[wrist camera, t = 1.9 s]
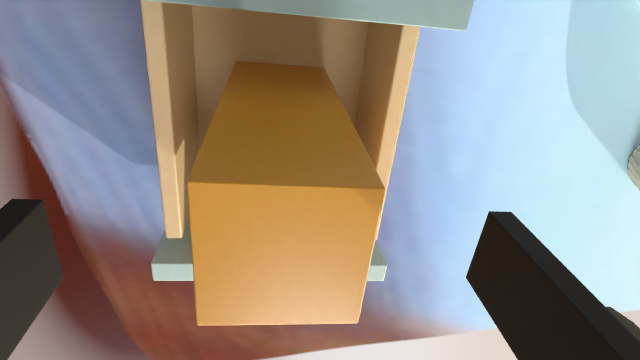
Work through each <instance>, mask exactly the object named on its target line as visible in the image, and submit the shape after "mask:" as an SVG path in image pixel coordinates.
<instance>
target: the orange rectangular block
mask: <svg viewBox="0 0 640 360" xmlns="http://www.w3.org/2000/svg"><path fill="white" fill-rule="evenodd" d="M187 193H188V207H189V221H190V235H191V248H192V262H193V276H194V290H195V304H196V318H197V325H198V326H206V325H276V324H346V323H358V321H359V316H360V311H361V306H362V301H363V296H364V291H365V286H366V281H367V277H368V272H369V267H370V262H371V257H372V252H373V247H374V242H375V237H376V232H377V227H378V222H379V217H380V212H381V207H382V203H383V198H384V193H385V187H384V185H383V183H382V181H381V179H380V177H379V175H378V173H377V171H376V169H375V167H374V165H373V163H372V161H371V159H370V157H369V155H368V153H367V151H366V149H365V147H364V145H363V143H362V141H361V139H360V137H359V135H358V133H357V131H356V129H355V127H354V125H353V123H352V121H351V119H350V117H349V115H348V113H347V111H346V110H345V108H344V106H343V104H342V102H341V100H340V98H339V96H338V94H337V92H336V90H335V88H334V86H333V84H332V82H331V80H330V78H329V76H328V74H327V72H326V70H325V68H323V67H310V66H297V65H284V64H272V63H259V62H246V61H236V62H235V65H234V67H233V69H232V72H231V74H230V77H229V79H228V82H227V84H226V87H225V89H224V92H223V94H222V96H221V99H220V101H219V104H218V106H217V109H216V111H215V114H214V116H213V119H212V121H211V123H210V126H209V128H208V131H207V133H206V136H205V138H204V141H203V143H202V146H201V148H200V151H199V153H198V155H197V158H196V160H195V163H194V165H193V168H192V170H191V173H190V175H189V178H188V180H187Z"/></svg>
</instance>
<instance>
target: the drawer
mask: <svg viewBox="0 0 640 360" xmlns="http://www.w3.org/2000/svg"><path fill="white" fill-rule="evenodd" d="M140 2H141V11H142V21H143V30H144V39H145V48H146V57H147V67H148V76H149V85H150V94H151V104H152V113H153V122H154V131H155V141H156V150H157V159H158V168H159V177H160V187H161V196H162V205H163V214H164V224H165V231H164V234H163V236H162V238H161V241H160V243H159V246H158V248H157V250H156V253H155V255H154V258H153V260H152V262H151V267H152V274H153V280H161V281H194V276H193V262H192V248H191V235H190V221H189V207H188V193H187V180H188V178H189V175H190V173H191V170H192V168H193V165H194V163H195V160H196V158H197V155H198V153H199V151H200V148H201V146H202V143H203V141H204V138H205V136H206V133H207V131H208V128H209V126H210V123H211V121H212V119H213V116H214V114H215V111H216V109H217V106H218V104H219V101H220V99H221V96H222V94H223V92H224V89H225V87H226V84H227V82H228V79H229V77H230V74H231V72H232V69H233V67H234V65H235V62H236V61H246V62H259V63H272V64H284V65H297V66H310V67H323V68H325V70H326V72H327V74H328V76H329V78H330V80H331V82H332V84H333V86H334V88H335V90H336V92H337V94H338V96H339V98H340V100H341V102H342V104H343V106H344V108H345V110H346V111H347V113H348V115H349V117H350V119H351V121H352V123H353V125H354V127H355V129H356V131H357V133H358V135H359V137H360V139H361V141H362V143H363V145H364V147H365V149H366V151H367V153H368V155H369V157H370V159H371V161H372V163H373V165H374V167H375V169H376V171H377V173H378V175H379V177H380V179H381V181H382V183H383V185H384V187H385V193H384V198H383V203H382V207H381V212H380V217H379V222H378V227H377V232H376V237H375V242H374V247H373V252H372V257H371V262H370V267H369V272H368V277H367V281H383V280H384V277H385V272H386V268H387V263H386V261H385V258H384V255H383V253H382V250H381V247H380V245H379V242H378V240H377V236H378V231H379V226H380V222H381V217H382V212H383V207H384V202H385V197H386V192H387V188H388V183H389V178H390V173H391V168H392V163H393V158H394V153H395V149H396V144H397V139H398V134H399V129H400V124H401V119H402V115H403V110H404V105H405V100H406V95H407V90H408V85H409V81H410V76H411V71H412V66H413V61H414V56H415V51H416V46H417V42H418V37H419V32H420V27H418V26H407V25H397V24H386V23H376V22H365V21H355V20H344V19H334V18H323V17H313V16H302V15H292V14H281V13H271V12H260V11H250V10H239V9H229V8H218V7H208V6H197V5H187V4H176V3H166V2H155V1H145V0H140Z"/></svg>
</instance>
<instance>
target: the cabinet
mask: <svg viewBox="0 0 640 360" xmlns="http://www.w3.org/2000/svg"><path fill="white" fill-rule="evenodd" d="M145 1H155V2H166V3H176V4H187V5H197V6H208V7H218V8H229V9H239V10H250V11H260V12H271V13H281V14H292V15H302V16H313V17H323V18H334V19H344V20H355V21H365V22H376V23H386V24H397V25H407V26H418V27H428V28H439V29H449V30H460V31H466V29H467V26H468V22H469V18H470V14H471V10H472V6H473V2H474V0H145Z"/></svg>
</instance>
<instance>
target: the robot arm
mask: <svg viewBox="0 0 640 360" xmlns="http://www.w3.org/2000/svg"><path fill="white" fill-rule="evenodd" d="M466 278H467V280H468V282H469V283H470V285H471V286H472V288H473V289H474V291H475V293H476V294H477V296H478V297H479V299H480V301H481V302H482V304H483V305H484V307H485V308H486V310H487V312H488V313H489V315H490V316H491V318H492V320H493V321H494V323H495V324H496V326H497V327H498V329H499V331H500V332H501V334H502V335H503V337H504V339H505V340H506V342H507V343H508V345H509V346H510V348H511V350H512V351H513V353H514V354H515V356H516V358H517V359H518V360H640V328H639V327H638V326H636V325H635V324H634V323H633V322H632V321H630V320H629V319H627V318H626V317H624V316H623V315H622V314H620V313H619V312H617V311H616V310H614V309H613V308H611V307H605V306H604V305H603V304H602V303H601V302H600V301H599V300H598V299H597V298H596V297H595V296H594V295H593V294H592V293H591V292H590V291H589V290H588V289H587V288H586V287H585V286H584V285H583V284H582V283H581V282H580V281H579V280H578V279H577V278H576V277H575V276H574V275H573V274H572V273H571V272H570V271H569V270H568V269H567V268H566V267H565V266H564V265H563V264H562V263H561V262H560V261H559V260H558V259H557V258H556V257H555V256H554V255H553V254H552V253H551V252H550V251H549V250H548V249H547V248H546V247H545V246H544V245H543V244H542V243H541V242H540V241H539V240H538V239H537V238H536V237H535V236H534V235H533V234H532V233H531V232H530V231H529V230H528V229H527V228H526V227H525V226H524V224H523V223H522V222H521V221H520V220H519V219H518V218H517V217H516V216H515V215H514V214H513V213H512V212H491V211H489V213H488V216H487V219H486V222H485V225H484V227H483V230H482V233H481V236H480V239H479V242H478V244H477V247H476V250H475V253H474V256H473V259H472V261H471V264H470V267H469V270H468V273H467V276H466ZM62 279H63V274H62V269H61V265H60V262H59V258H58V254H57V251H56V247H55V243H54V240H53V236H52V232H51V229H50V225H49V221H48V217H47V214H46V210H45V207H44V203H43V200H31V199H11V200H10V201H9V202H8V203H7V204H6V205H4V206H3V207H2V208H1V209H0V360H7V359H8V358H9V356H10V355H11V353H12V352H13V351H14V349H15V348H16V346H17V345H18V343H19V342H20V340H21V339H22V337H23V336H24V335H25V333H26V332H27V330H28V329H29V327H30V326H31V324H32V323H33V321H34V320H35V318H36V317H37V315H38V314H39V312H40V311H41V310H42V308H43V307H44V305H45V304H46V302H47V301H48V299H49V298H50V296H51V295H52V294H53V292H54V291H55V289H56V288H57V286H58V285H59V283H60V282H61V280H62Z"/></svg>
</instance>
